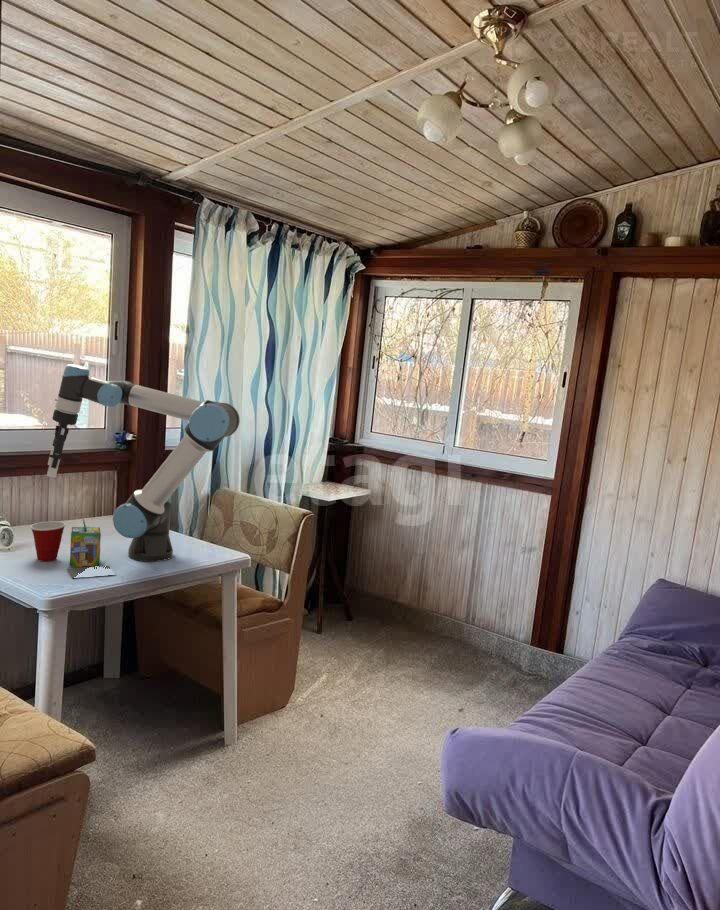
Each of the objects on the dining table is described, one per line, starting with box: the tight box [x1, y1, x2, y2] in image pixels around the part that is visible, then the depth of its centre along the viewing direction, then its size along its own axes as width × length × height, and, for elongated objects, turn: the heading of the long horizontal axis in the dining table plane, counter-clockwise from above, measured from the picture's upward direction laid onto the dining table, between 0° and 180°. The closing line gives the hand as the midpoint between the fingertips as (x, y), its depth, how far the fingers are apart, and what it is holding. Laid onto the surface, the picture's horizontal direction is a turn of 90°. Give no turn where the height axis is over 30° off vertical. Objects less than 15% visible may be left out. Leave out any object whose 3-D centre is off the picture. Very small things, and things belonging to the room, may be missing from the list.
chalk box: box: [69, 518, 102, 568], centre depth 227 cm, size 9×9×15 cm
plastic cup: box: [29, 520, 67, 562], centre depth 227 cm, size 11×11×12 cm
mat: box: [66, 565, 111, 579], centre depth 219 cm, size 13×10×1 cm
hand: (51, 470), depth 231 cm, fingers open, 13 cm apart
